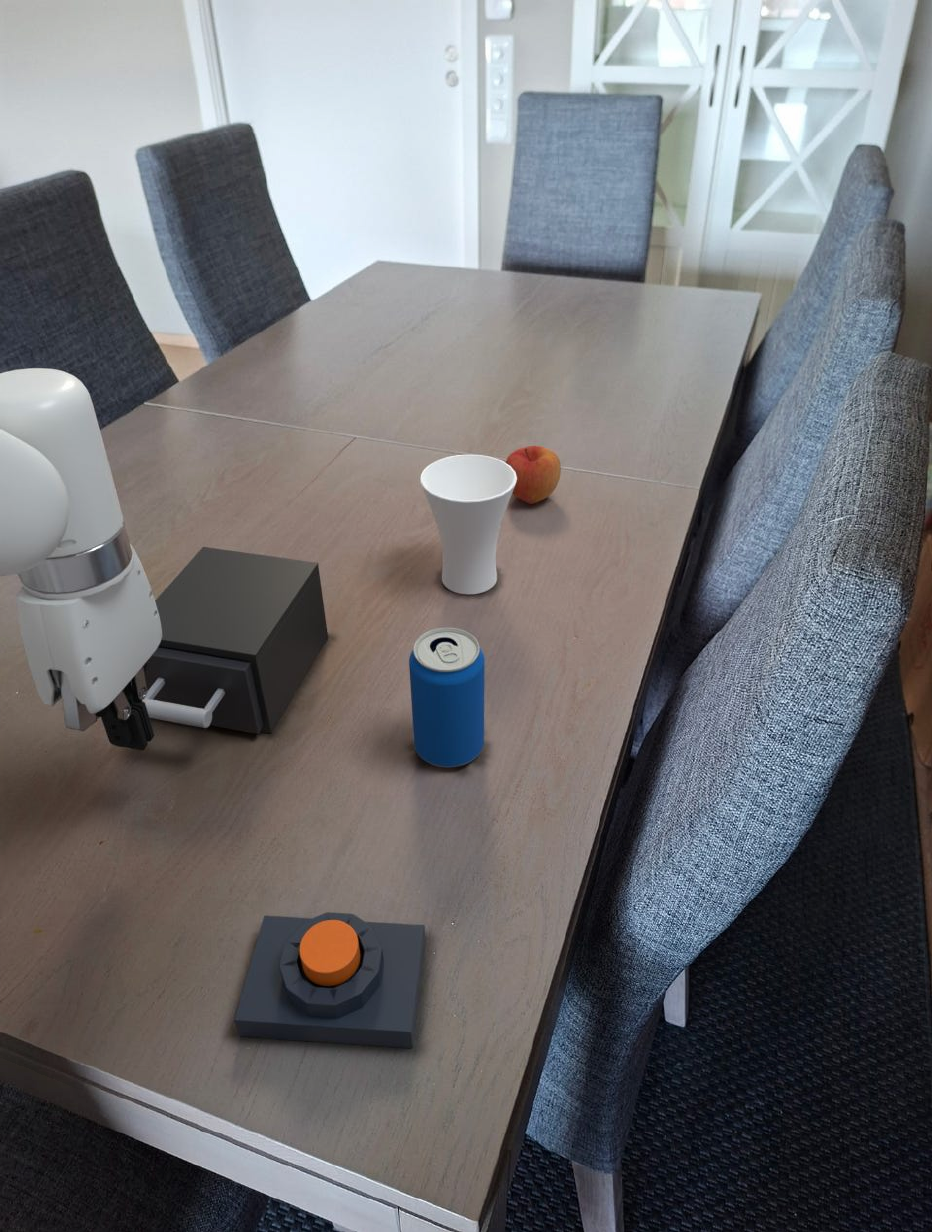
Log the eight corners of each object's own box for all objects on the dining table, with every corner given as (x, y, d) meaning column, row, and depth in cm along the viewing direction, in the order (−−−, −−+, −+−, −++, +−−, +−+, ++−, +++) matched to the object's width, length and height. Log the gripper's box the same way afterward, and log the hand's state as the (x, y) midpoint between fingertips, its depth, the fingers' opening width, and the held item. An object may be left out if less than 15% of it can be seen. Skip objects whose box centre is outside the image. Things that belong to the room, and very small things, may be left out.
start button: (296, 984, 59) (293, 971, 58) (309, 931, 62) (306, 917, 61) (355, 988, 59) (352, 974, 58) (364, 935, 62) (362, 921, 61)
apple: (569, 496, 117) (573, 442, 112) (537, 518, 113) (540, 463, 108) (525, 479, 121) (527, 426, 116) (493, 500, 117) (493, 446, 112)
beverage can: (468, 715, 85) (468, 617, 77) (494, 761, 80) (496, 662, 72) (405, 732, 83) (398, 634, 75) (427, 781, 78) (422, 681, 71)
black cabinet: (271, 733, 83) (255, 655, 77) (150, 711, 85) (125, 633, 79) (328, 637, 94) (318, 562, 88) (220, 620, 97) (202, 546, 91)
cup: (530, 571, 104) (534, 469, 95) (483, 616, 97) (483, 511, 88) (457, 545, 108) (455, 445, 100) (407, 586, 101) (400, 484, 93)
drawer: (237, 769, 78) (221, 704, 73) (122, 746, 80) (99, 682, 75) (313, 644, 92) (304, 582, 87) (213, 627, 94) (198, 567, 89)
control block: (239, 1036, 60) (229, 1006, 57) (268, 932, 66) (260, 900, 64) (412, 1048, 59) (410, 1018, 57) (425, 941, 66) (423, 910, 63)
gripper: (88, 495, 67) (140, 676, 78) (-49, 605, 56) (35, 800, 67) (176, 507, 66) (217, 690, 77) (55, 623, 54) (123, 819, 65)
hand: (132, 740), depth 72 cm, fingers closed
